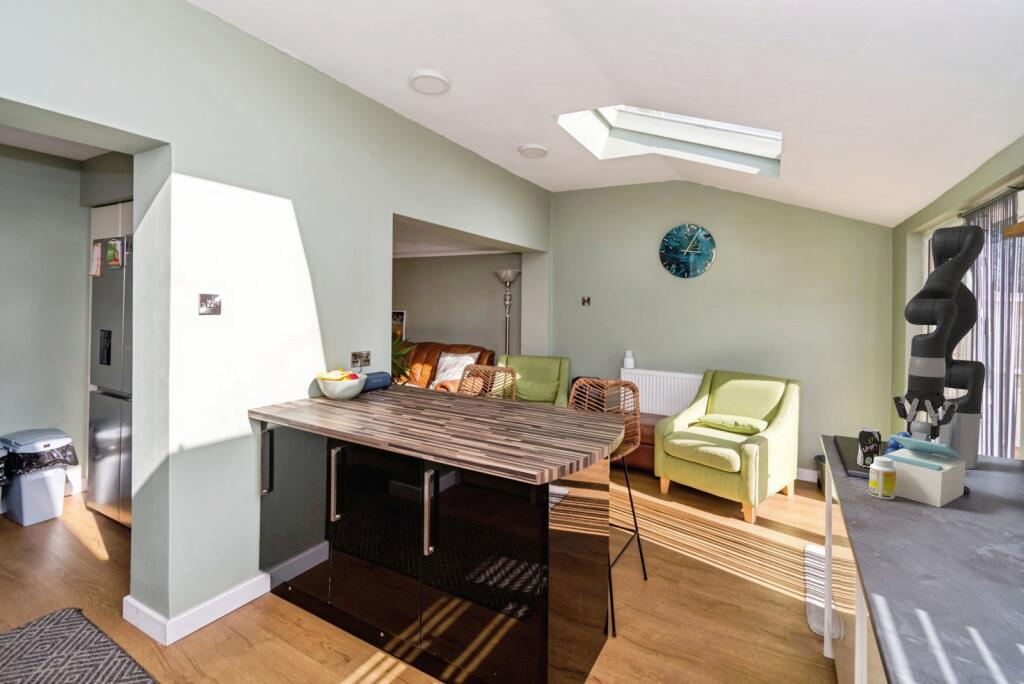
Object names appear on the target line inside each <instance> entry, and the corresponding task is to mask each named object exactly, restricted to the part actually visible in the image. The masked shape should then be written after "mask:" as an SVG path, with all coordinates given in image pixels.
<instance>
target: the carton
mask: <svg viewBox="0 0 1024 684" xmlns="http://www.w3.org/2000/svg"><path fill="white" fill-rule="evenodd" d="M880 457H887V458H890V459H892V460H893V467H895V468H896V484H895V497H901V498H904V499H908V500H911V501H915V502H919V503H923V504H926V505H929V506H933V507H937V508H942V507H943V506H945V505H947V504H948V503H950V502H952V501H954V500H956V499H957V498H960V497H961V496H963V495H964V489H965V477H966V476H965V475H966V469H965V463H966V461H961V460H957V459H952V458H947V457H942V456H938V454H927V453H922V452H917V451H913V450H908V449H903V448H902V449H900V450H897V451H894V452H891V453H888V454H886V453H885V454H884V455H880Z"/></svg>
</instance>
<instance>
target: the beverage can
mask: <svg viewBox="0 0 1024 684" xmlns="http://www.w3.org/2000/svg"><path fill="white" fill-rule="evenodd" d="M860 429H861V430H859V432H858V437H857V438H858V439H857V461H856V463H857V464H858V465H859V466H860V467H861V466H863V467H862V468H864V467H868V468H870V465H871V464H873V463H874V457H877V456H881V450H882V449H881V446H882V434H881V433H880V430H879V429H877V428H875V427H874V428H872V427H861V428H860ZM868 468H867V469H868Z"/></svg>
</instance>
